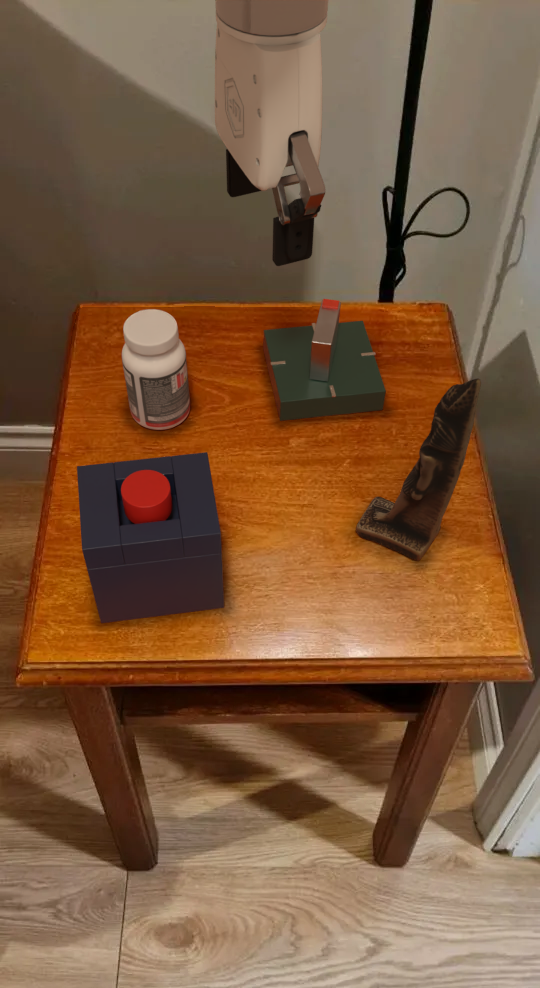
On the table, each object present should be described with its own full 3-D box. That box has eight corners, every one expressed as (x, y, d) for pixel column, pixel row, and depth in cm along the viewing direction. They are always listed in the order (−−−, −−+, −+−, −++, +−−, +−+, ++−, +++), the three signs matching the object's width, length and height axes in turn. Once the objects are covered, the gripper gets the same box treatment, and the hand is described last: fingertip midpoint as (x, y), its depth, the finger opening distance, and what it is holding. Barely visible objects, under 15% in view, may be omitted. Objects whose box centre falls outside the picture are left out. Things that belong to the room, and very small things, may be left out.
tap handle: (327, 382, 85) (331, 342, 81) (309, 379, 85) (311, 339, 81) (337, 339, 88) (341, 299, 84) (318, 337, 88) (322, 296, 84)
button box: (101, 623, 73) (81, 549, 65) (95, 544, 77) (76, 465, 69) (224, 607, 74) (221, 533, 66) (211, 530, 78) (207, 451, 70)
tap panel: (279, 422, 86) (279, 401, 83) (262, 349, 91) (262, 327, 89) (384, 410, 87) (387, 390, 84) (361, 339, 92) (363, 318, 90)
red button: (126, 529, 67) (122, 509, 65) (122, 492, 69) (119, 472, 67) (174, 523, 67) (172, 504, 66) (169, 487, 69) (167, 466, 67)
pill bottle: (201, 400, 87) (195, 316, 79) (172, 440, 84) (164, 357, 76) (148, 382, 88) (138, 297, 80) (119, 420, 85) (104, 336, 77)
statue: (372, 504, 80) (405, 323, 64) (447, 535, 79) (500, 357, 62) (352, 537, 78) (380, 359, 62) (428, 570, 77) (478, 395, 60)
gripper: (174, -52, 63) (188, 177, 78) (270, 68, 55) (266, 301, 69) (273, -68, 65) (269, 159, 79) (381, 45, 56) (355, 277, 71)
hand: (268, 225), depth 74 cm, fingers open, 9 cm apart
